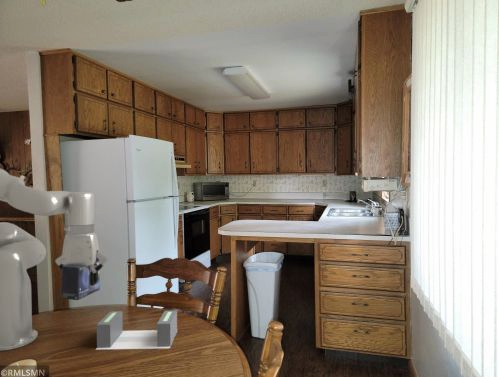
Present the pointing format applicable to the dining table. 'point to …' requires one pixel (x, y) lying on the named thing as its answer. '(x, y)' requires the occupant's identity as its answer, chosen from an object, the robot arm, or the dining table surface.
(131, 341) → the rail board
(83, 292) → the small box
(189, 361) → the dining table surface
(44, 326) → the dining table surface
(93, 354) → the dining table surface
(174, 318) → the block
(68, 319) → the dining table surface
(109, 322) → the block
